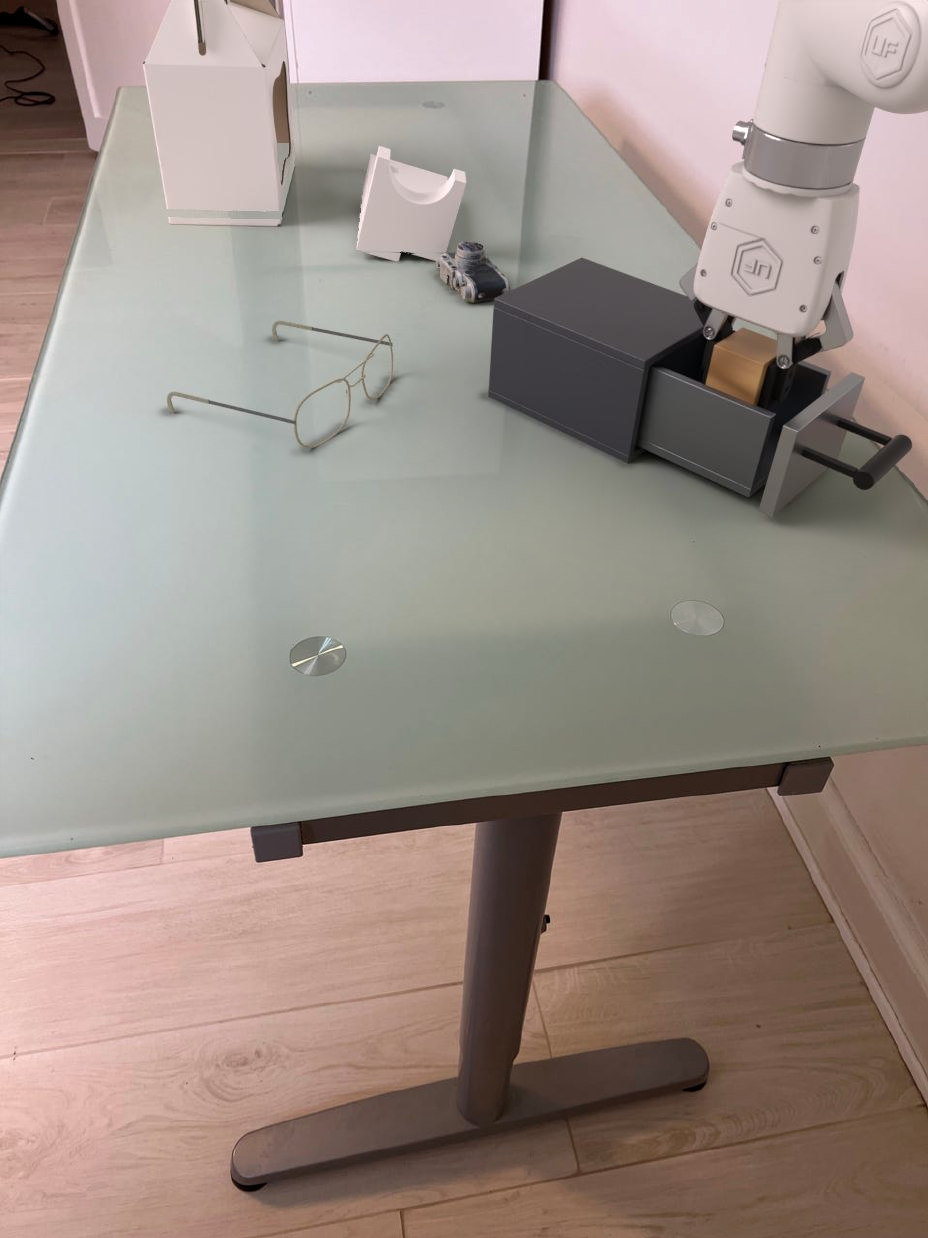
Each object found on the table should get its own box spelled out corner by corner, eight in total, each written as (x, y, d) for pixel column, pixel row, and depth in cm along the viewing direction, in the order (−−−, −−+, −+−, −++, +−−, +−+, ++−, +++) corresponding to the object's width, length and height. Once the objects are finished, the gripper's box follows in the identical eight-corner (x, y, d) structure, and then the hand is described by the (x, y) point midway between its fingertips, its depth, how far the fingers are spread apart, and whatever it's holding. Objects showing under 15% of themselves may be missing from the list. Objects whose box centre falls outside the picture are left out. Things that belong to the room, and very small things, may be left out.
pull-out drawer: (902, 487, 81) (936, 403, 76) (840, 550, 74) (872, 463, 69) (690, 397, 90) (708, 317, 85) (619, 446, 84) (633, 362, 79)
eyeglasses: (311, 460, 82) (307, 407, 79) (168, 413, 87) (158, 361, 84) (405, 378, 93) (405, 328, 90) (273, 339, 98) (268, 291, 94)
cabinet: (705, 409, 91) (728, 310, 84) (627, 464, 84) (645, 360, 77) (570, 351, 98) (581, 256, 92) (487, 397, 91) (493, 297, 84)
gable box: (280, 228, 119) (254, -51, 100) (168, 226, 118) (121, -55, 99) (296, 165, 135) (276, -84, 116) (198, 163, 134) (162, -88, 115)
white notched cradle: (439, 273, 114) (466, 183, 107) (356, 250, 111) (378, 156, 105) (436, 214, 127) (460, 130, 120) (361, 192, 125) (381, 106, 118)
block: (777, 395, 80) (791, 345, 77) (750, 415, 78) (764, 364, 75) (730, 375, 82) (742, 326, 79) (702, 394, 80) (714, 344, 77)
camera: (467, 309, 104) (468, 270, 101) (432, 270, 111) (432, 233, 108) (510, 302, 106) (513, 263, 103) (473, 264, 113) (475, 227, 110)
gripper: (667, 138, 70) (628, 372, 82) (895, 203, 62) (814, 452, 74) (722, 116, 74) (677, 342, 86) (942, 175, 66) (858, 415, 78)
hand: (741, 391), depth 80 cm, fingers closed on block, 4 cm apart
